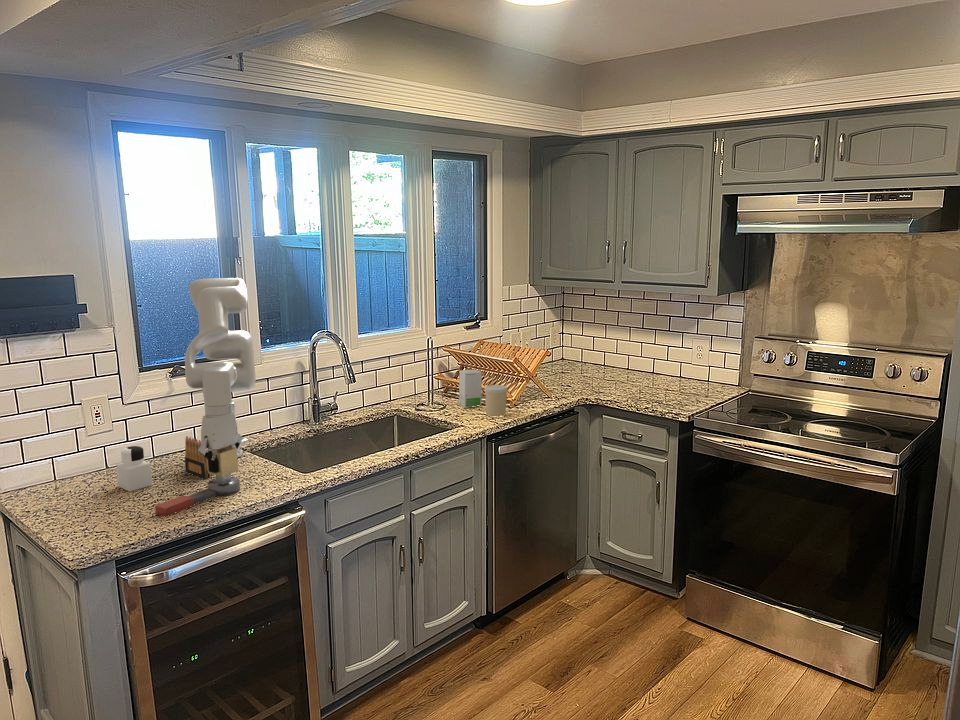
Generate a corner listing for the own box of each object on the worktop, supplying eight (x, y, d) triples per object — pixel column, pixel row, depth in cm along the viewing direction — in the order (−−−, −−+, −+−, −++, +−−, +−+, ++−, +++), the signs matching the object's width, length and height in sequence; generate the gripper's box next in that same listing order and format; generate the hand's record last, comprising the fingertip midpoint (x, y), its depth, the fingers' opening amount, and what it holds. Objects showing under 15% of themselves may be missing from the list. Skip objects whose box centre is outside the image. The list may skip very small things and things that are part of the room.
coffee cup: (492, 411, 304) (493, 383, 302) (511, 415, 299) (511, 386, 297) (479, 416, 297) (479, 387, 294) (498, 420, 291) (498, 390, 289)
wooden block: (224, 467, 218) (222, 444, 217) (238, 470, 215) (236, 448, 214) (207, 473, 213) (206, 450, 212) (221, 476, 210) (220, 453, 209)
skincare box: (464, 409, 308) (464, 373, 305) (458, 405, 314) (458, 370, 311) (482, 406, 312) (482, 371, 309) (476, 403, 318) (476, 368, 315)
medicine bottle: (141, 480, 224) (138, 442, 222) (152, 485, 219) (149, 447, 217) (118, 486, 218) (114, 448, 216) (129, 492, 214) (125, 453, 212)
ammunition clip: (185, 472, 231) (182, 436, 229) (190, 470, 232) (187, 434, 230) (204, 479, 225) (201, 442, 222) (210, 477, 226) (207, 440, 224)
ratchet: (225, 483, 221) (224, 463, 220) (246, 488, 217) (245, 469, 216) (150, 512, 199) (148, 491, 198) (171, 518, 195) (169, 497, 194)
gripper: (233, 401, 220) (236, 458, 223) (184, 414, 205) (189, 475, 208) (250, 404, 216) (254, 462, 219) (202, 418, 201) (207, 479, 205)
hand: (222, 468), depth 214 cm, fingers closed on wooden block, 6 cm apart
